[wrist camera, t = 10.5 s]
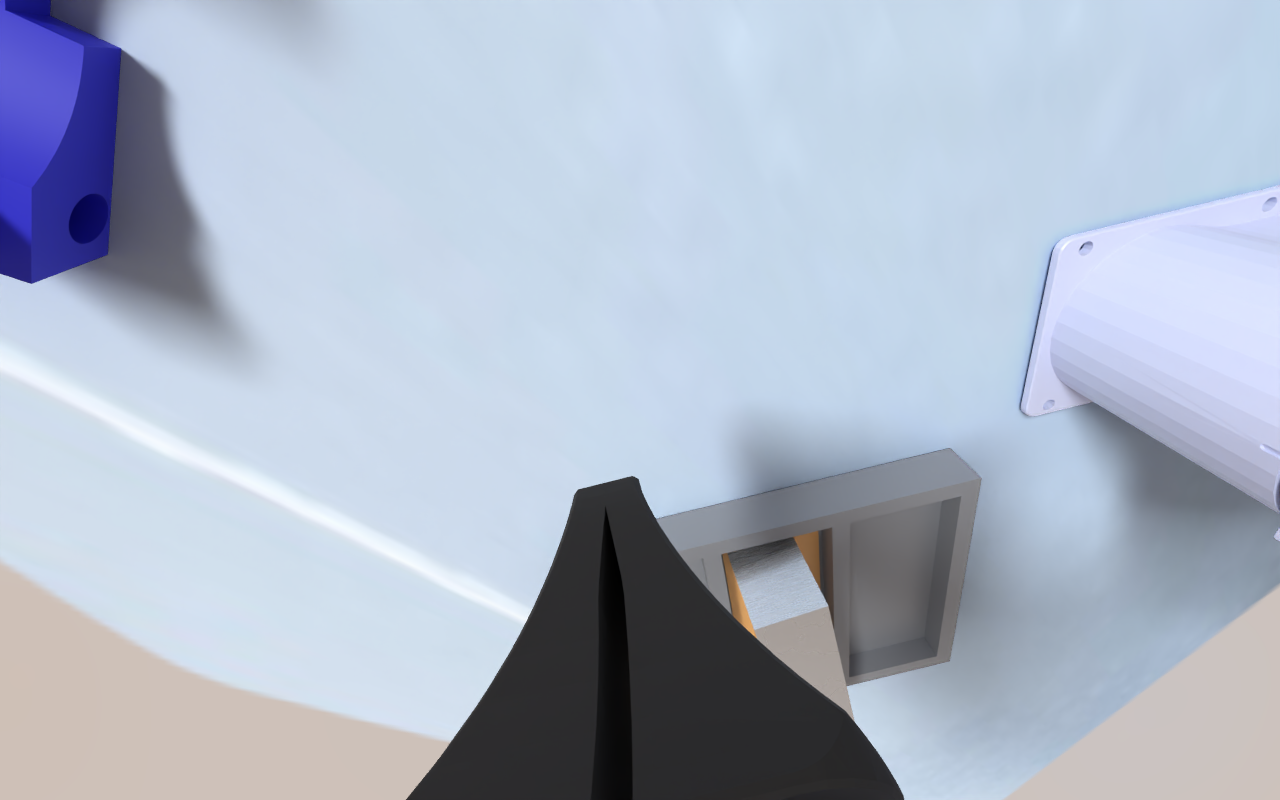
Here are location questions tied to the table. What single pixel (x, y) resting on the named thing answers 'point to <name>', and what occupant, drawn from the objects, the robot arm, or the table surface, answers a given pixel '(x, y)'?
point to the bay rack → (856, 554)
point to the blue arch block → (54, 142)
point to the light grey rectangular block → (791, 614)
